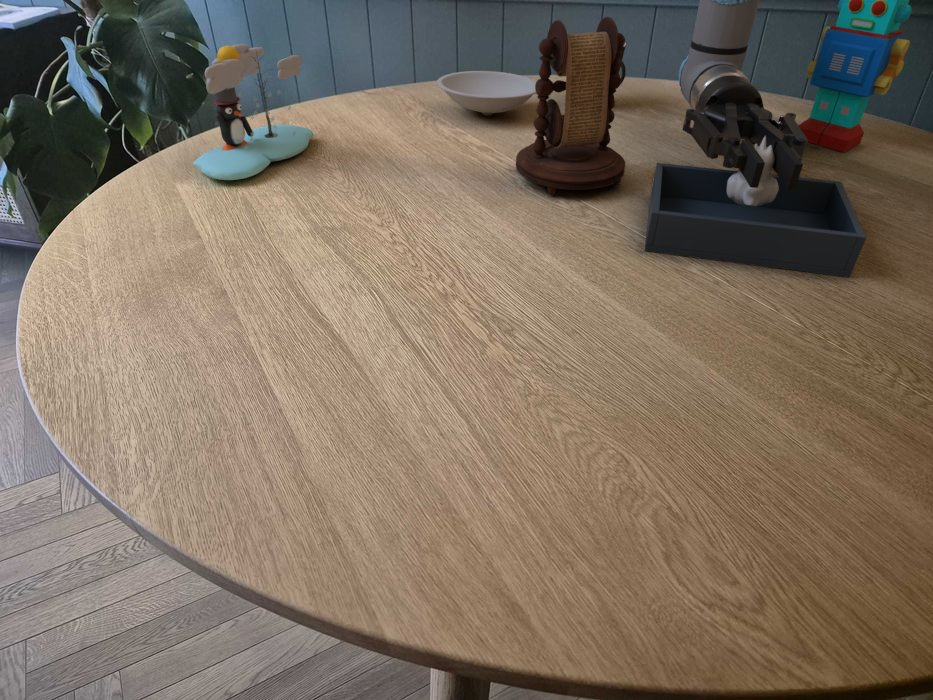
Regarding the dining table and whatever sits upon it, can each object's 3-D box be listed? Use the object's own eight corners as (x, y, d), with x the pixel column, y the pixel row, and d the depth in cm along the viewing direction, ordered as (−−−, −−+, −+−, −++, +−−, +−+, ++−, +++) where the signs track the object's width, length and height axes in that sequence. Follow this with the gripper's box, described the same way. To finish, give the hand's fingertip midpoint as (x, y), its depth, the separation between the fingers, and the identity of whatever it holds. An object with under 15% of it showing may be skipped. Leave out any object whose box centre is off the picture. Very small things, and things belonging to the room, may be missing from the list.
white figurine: (770, 197, 78) (790, 130, 73) (773, 221, 73) (795, 151, 68) (722, 191, 79) (739, 125, 74) (722, 215, 74) (740, 146, 69)
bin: (827, 217, 82) (841, 181, 79) (849, 277, 71) (866, 237, 68) (649, 197, 86) (656, 162, 83) (644, 251, 75) (651, 212, 72)
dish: (422, 119, 110) (420, 88, 107) (458, 95, 120) (458, 66, 117) (521, 135, 104) (522, 102, 101) (550, 108, 114) (552, 78, 111)
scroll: (540, 207, 84) (554, 37, 72) (499, 163, 95) (505, 10, 83) (642, 192, 87) (672, 28, 75) (592, 152, 99) (610, 3, 86)
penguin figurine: (237, 191, 87) (210, 71, 78) (179, 175, 91) (147, 59, 82) (330, 143, 101) (317, 36, 92) (277, 131, 105) (259, 27, 96)
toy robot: (782, 135, 105) (837, -48, 89) (800, 126, 108) (856, -51, 93) (855, 155, 98) (929, -38, 83) (872, 146, 101) (946, -42, 86)
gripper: (780, 134, 88) (843, 212, 70) (657, 130, 89) (689, 206, 71) (797, 76, 84) (871, 143, 65) (668, 72, 85) (705, 137, 66)
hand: (776, 175), depth 68 cm, fingers closed on white figurine, 3 cm apart
